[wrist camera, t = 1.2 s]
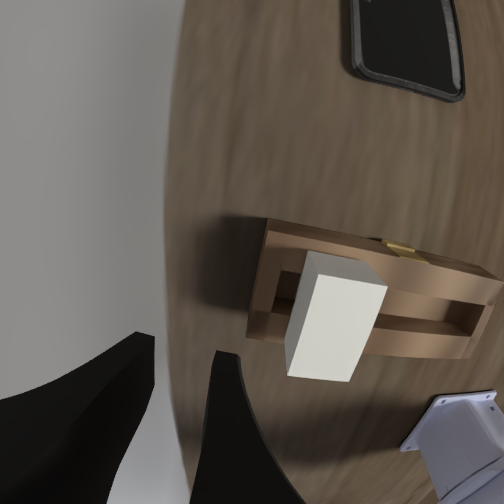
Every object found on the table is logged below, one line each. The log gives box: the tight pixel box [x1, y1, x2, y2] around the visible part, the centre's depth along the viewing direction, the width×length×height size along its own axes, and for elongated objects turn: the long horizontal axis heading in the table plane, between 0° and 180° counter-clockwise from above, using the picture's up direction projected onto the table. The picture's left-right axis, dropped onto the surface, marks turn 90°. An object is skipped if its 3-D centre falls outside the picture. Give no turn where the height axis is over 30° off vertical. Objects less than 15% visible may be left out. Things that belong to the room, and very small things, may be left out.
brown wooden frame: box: [246, 218, 504, 359], centre depth 17 cm, size 16×6×3 cm, turn 80°
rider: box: [284, 250, 388, 382], centre depth 14 cm, size 3×5×5 cm, turn 170°
